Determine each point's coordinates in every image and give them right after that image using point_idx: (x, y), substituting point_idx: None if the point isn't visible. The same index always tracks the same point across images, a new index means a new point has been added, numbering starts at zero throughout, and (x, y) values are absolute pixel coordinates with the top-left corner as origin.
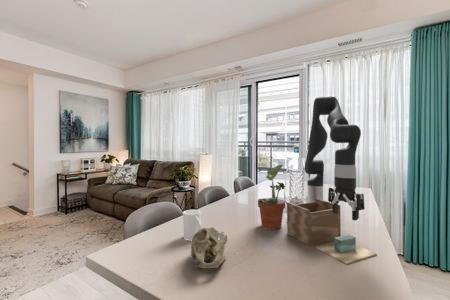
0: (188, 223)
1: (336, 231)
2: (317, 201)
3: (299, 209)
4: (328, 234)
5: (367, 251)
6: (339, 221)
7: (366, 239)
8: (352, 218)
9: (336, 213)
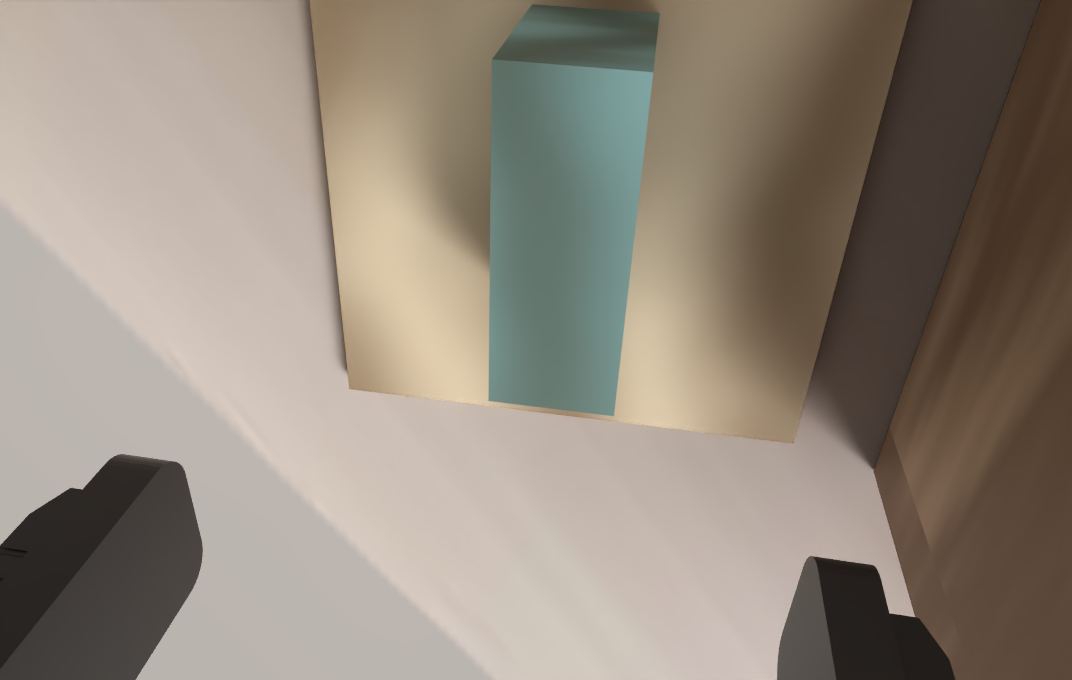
0: None
1: (922, 484)
2: None
3: None
4: (977, 320)
5: (426, 362)
6: None
7: (656, 628)
8: (130, 478)
9: (795, 606)
